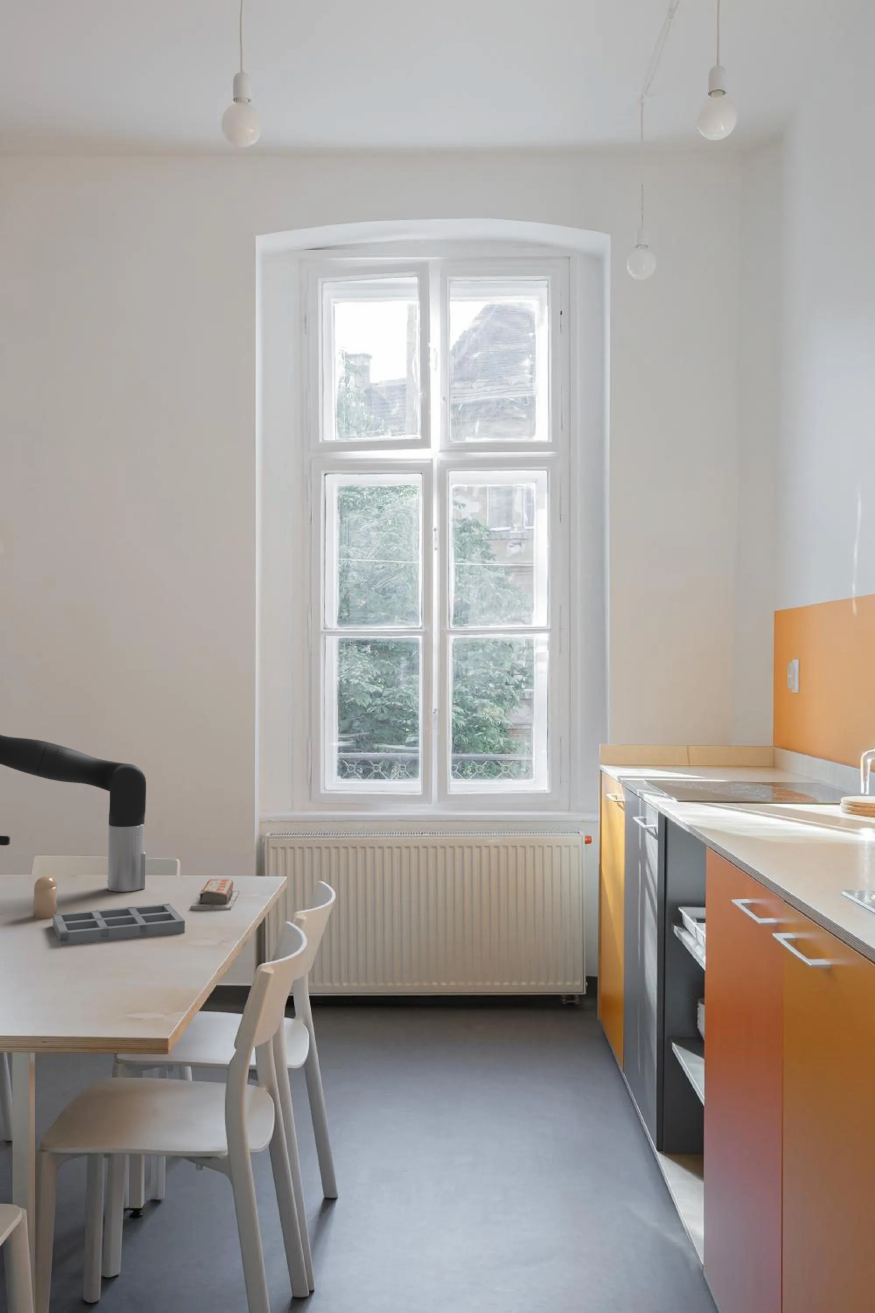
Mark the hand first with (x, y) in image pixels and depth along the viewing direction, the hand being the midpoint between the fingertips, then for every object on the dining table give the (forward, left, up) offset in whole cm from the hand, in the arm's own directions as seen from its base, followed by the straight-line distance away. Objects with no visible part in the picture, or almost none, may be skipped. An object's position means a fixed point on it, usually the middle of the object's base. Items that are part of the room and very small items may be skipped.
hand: (0, 843), depth 235 cm
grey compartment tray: (-24, +25, -17) cm, 38 cm away
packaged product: (-50, +7, -18) cm, 54 cm away
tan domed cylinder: (-10, +6, -17) cm, 20 cm away
